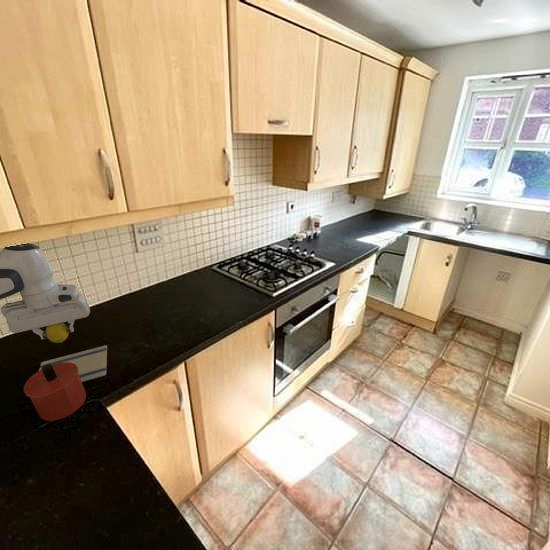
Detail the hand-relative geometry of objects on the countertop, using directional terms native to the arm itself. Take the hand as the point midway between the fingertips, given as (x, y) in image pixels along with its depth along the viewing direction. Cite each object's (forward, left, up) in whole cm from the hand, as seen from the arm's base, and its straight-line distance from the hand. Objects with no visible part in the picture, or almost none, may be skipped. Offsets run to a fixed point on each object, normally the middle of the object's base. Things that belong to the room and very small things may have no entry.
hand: (58, 334), depth 94 cm
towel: (0, 0, -14) cm, 14 cm away
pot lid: (-1, -15, -5) cm, 16 cm away
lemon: (0, 0, -3) cm, 3 cm away
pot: (-1, -15, -14) cm, 21 cm away
